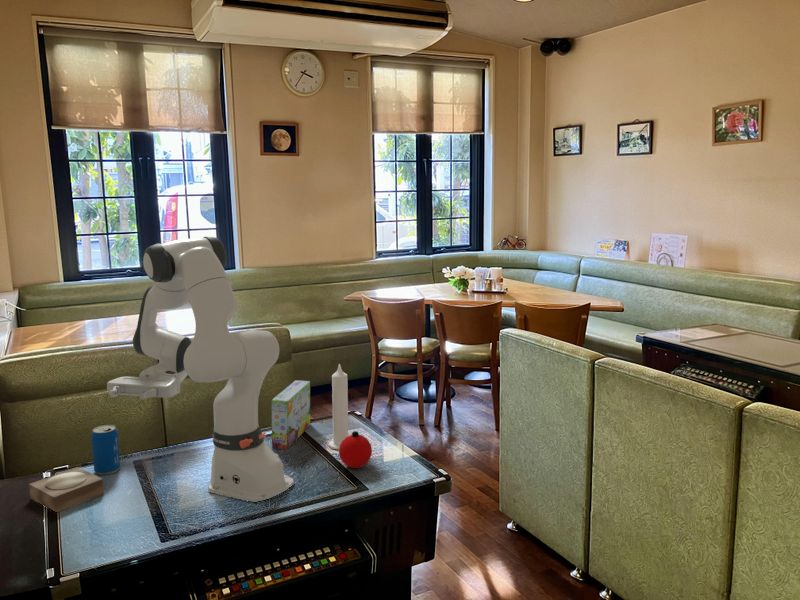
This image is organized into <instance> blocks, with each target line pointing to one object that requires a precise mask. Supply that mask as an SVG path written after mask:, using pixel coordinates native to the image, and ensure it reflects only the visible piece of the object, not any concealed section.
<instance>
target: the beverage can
mask: <svg viewBox="0 0 800 600" xmlns="http://www.w3.org/2000/svg"><path fill="white" fill-rule="evenodd" d="M90 437H91V446H92V447H91V449H92V459H93V461H92V462H93V470H94V471H93V472H95V473H97V474H98V475H103V476H104V475H110V474H111V475H112V474H114V473H116V472H117V471H118V470H119V469H120V468H121V456H120V444H119V442H120V441H119V432H118V429H117V428H116V425H113V424H105V425H99V426H96V427H94V428H93V429H92V431H91V436H90Z"/></svg>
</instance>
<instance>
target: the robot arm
mask: <svg viewBox="0 0 800 600" xmlns="http://www.w3.org/2000/svg"><path fill="white" fill-rule="evenodd" d="M142 259H143V260H142V263H143V269H144V271H145V273H146V275H147V277H148V278H149V279H150V280H151V281H152V282H153V285H150V286H148V288H146V290H145V291H144V294H143V296H142V299H141V303H140V309H139V312H138V313H139V314H138V318H137V325H136V329H135V332H134V334H133V337H132V345H133V348H134V351H135V352H136V353H137V354H138V355H141V356H145V357H150V358H153V359H155V360H159V362H158V363H156V364H153V365H152V366H150V367H147V368H145V369H144V370H142V371H141V372H140V373H139V375H138V376H120V377H116V378H114V379H111V380H109V381H108V382H107V383H106V389H107V390H106V391H107V393H108V394H109V396H110V397H111V398H116V397H119V395H121V396H135V397H139V398H140V400H147V399H149V398H163V399H164V398H165V399H166V398H172V397H175V396H176V395H179V394H180V393H181V383H182V382H183V381H184V380H185V379H186V378H187V377H189V378H190V379H191V380H193V381H194V382H196V383H216V382H219V381H220V382H221V381H225V380H227V383H226V385H225V386H224V387H223V389H222V390H220V392H219V393H218V394H217V395H216V396H215V398H214V400H213V403H212V404H213V405H212V407H213V426H214V427H213V429H212V434H211V435H212V443H213V445H214V448H213V449H214V450H213V453H212V458H211V468H210V469H211V471H210V473H211V474H210V481H209V485H208V489H207V492H208V493H210V492H211V494H214V493H216V494H215V495H219V494H221V495H220V496H223V495H225V496H224V497H227V496H229V497H228V498H231V497H233V498H232V499H235V498H237V499H236V500H239V499H243V500H242V501H244V500H248V501H252V502H257V501H262V500H265V499H269V498H271V497H273V496H275V495H277V494H279V493H281V492H283V491H285V490H287V489H288V488H289V487H291V486H292V484H293V483H294V484H295V482H294V481H295V480H294V479H293V478H291V477H290V476H288V475H287V474H285V471H284V465H283V462H282V460H281V459H280V456H279V454H278V453H275V452H274V451H273V450H272V449H271V448H270V447H269V445H267V444H266V442H265V438H266V437H267V435H266V434H267V432H262V429H261V426H260V424H259V398H260V397H259V396H260V393H261V389H262V385H263V383H264V380H265V378H266V376H267V374H268V372H269V371H270V369H271V368H272V367H273V365H275V364H276V362H277V361H278V359H279V356H280V344H279V342H278V339H277V338H276V336H275V335H274V334H273V333H272V332H270V331H268V330H261V329H260V330H259V329H250V330H245V331H240V332H234V333H230V331H229V328H228V327H229V326H228V322H230V321H231V320H232V319H233V317H234V316H235V315H236V314H237V312H238V307H239V306H238V304H239V303H238V301H237V298H236V296H235V293H234V290H233V288H232V284H231V282H230V280H229V277H228V275H227V272H226V271H225V267H226V265H227V251H226V249H225V245H224V243H223V242H222V241H221V240H220V239H219V238H217V237H215V236H203V237H198V238H197V237H195V238H194V237H193V238H180V239H175V240H169V241H166V242H163V243H155V244H152V245H150V246H147V247H146V249H145V250H144V252H143V258H142ZM187 303H190V306H191V309H192V313H193V317H194V321H195V331H194V335H193V339H192V340H191V338H189V337H188V336H185V335H182V334H180V333H177V332H174V331H170V330H168V329H165V328H163V327H161V326H159V325H158V324H157V323H156V321H157V316H158V311H159V310H174V309H178V308H181V307H183V306H184V305H186V304H187ZM294 484H293V485H294ZM292 487H293V486H292ZM292 487H291V488H292ZM288 490H289V489H288ZM288 490H287V491H288ZM269 500H270V499H269ZM248 501H247V502H248ZM252 502H251V503H252ZM262 502H263V501H262ZM257 503H258V502H257Z"/></svg>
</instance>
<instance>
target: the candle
mask: <svg viewBox="0 0 800 600" xmlns="http://www.w3.org/2000/svg"><path fill="white" fill-rule="evenodd" d="M337 366H338V367H337V370H336V371H335V372H334V373H333V374H332V375H331V387H332V388H331V389H332V390H331V393H332V395H331V397H332V398H331V399H332V439H331V440H330V441H329V443H328V447H329V448H330V449H332V450H335V449H336V450H338V451H339V447H340V444H341V443H342V441H343V440H344V439H345V438H346V437H348V436H349V405H348V403H349V401H348V400H349V396H348V394H349V389H348V386H349V383H348V374H347V373H346V372H344V371H343V369H342V366H341V364H340V363H338V365H337ZM336 450H335V451H336Z"/></svg>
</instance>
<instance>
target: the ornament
mask: <svg viewBox="0 0 800 600" xmlns="http://www.w3.org/2000/svg"><path fill="white" fill-rule="evenodd" d="M372 452H373V449H372V444H371V442H370V441H369V439H368V438H366V437H365V436H364V435H361V434H359V432H358V430H357V431H352V432H351V434H350V435H348V437H346V438H345V439H344V440H343V441H342V443H341V444H340V447H339V450H338V456H339V458H340V460H341V462H342V463H343V465H346V466H347V467H349V468H351V469H358V468H362V467H364V466H366V465H367V463H369V461H370V460H371V457H372Z"/></svg>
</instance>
